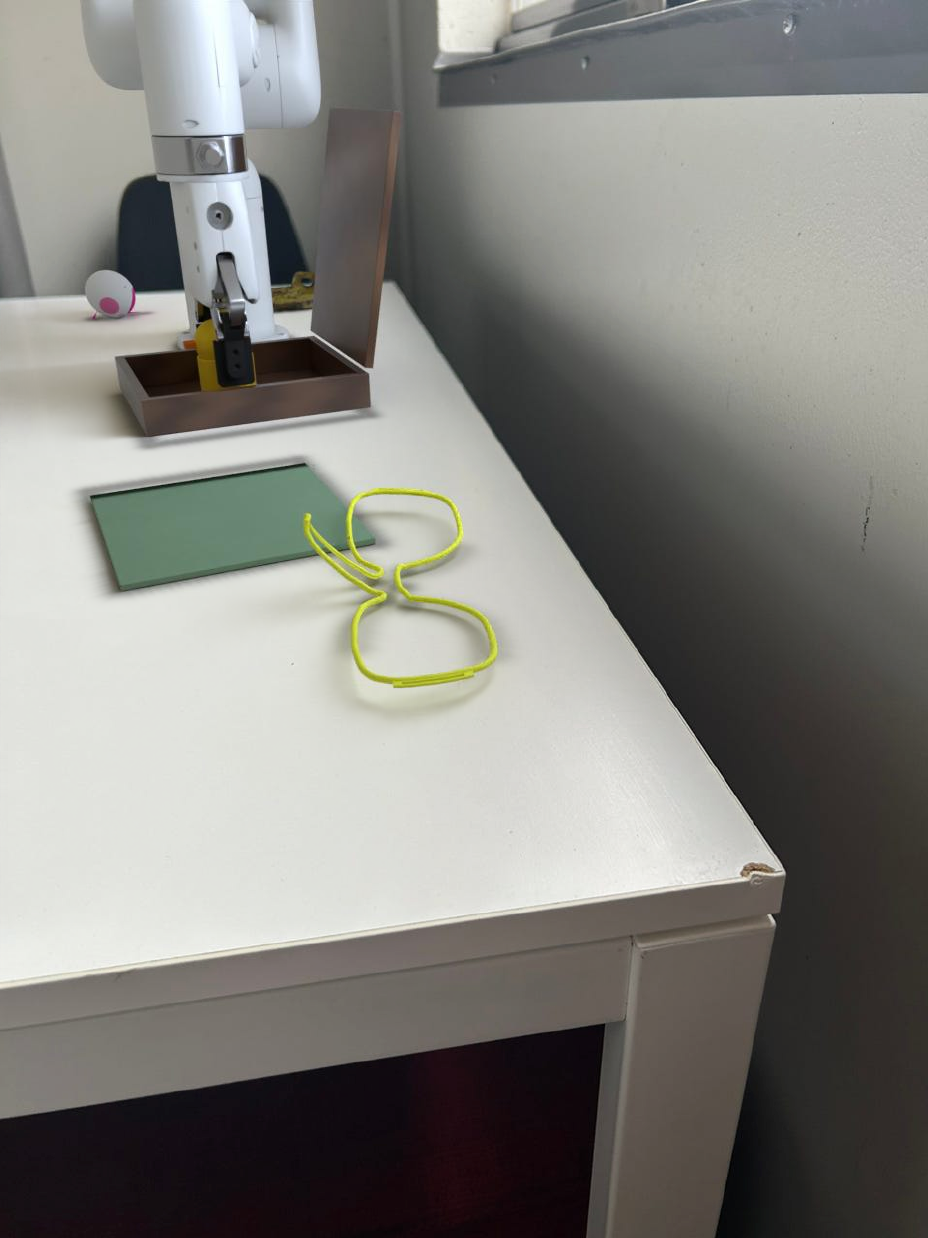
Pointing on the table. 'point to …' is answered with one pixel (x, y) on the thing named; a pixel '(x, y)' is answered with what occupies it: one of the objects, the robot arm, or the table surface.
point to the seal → (294, 294)
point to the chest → (286, 387)
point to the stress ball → (110, 294)
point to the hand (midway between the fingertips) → (227, 373)
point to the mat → (220, 524)
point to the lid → (354, 228)
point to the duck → (207, 356)
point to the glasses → (399, 681)
